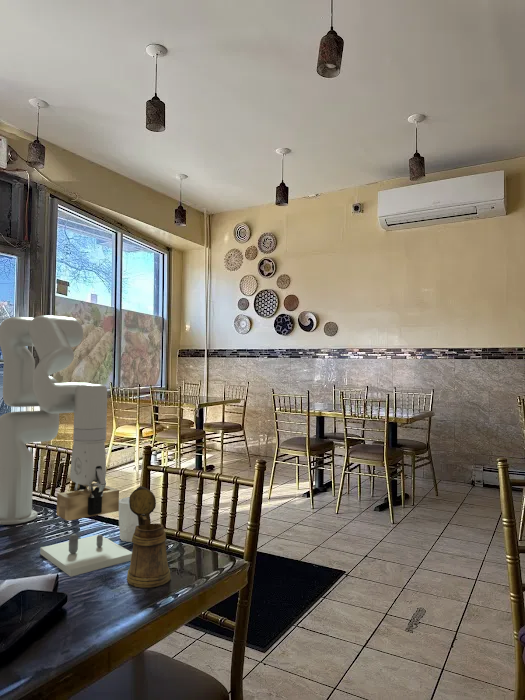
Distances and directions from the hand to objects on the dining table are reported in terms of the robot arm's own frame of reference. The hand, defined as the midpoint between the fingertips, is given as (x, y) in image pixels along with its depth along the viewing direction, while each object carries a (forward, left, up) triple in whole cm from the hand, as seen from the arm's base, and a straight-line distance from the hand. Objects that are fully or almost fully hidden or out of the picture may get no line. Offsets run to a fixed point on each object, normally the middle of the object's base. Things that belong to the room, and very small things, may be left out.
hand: (88, 510), depth 120 cm
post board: (0, 0, -11) cm, 11 cm away
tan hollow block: (0, 0, -1) cm, 1 cm away
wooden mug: (+19, +5, -11) cm, 23 cm away
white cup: (-5, +15, -11) cm, 19 cm away
